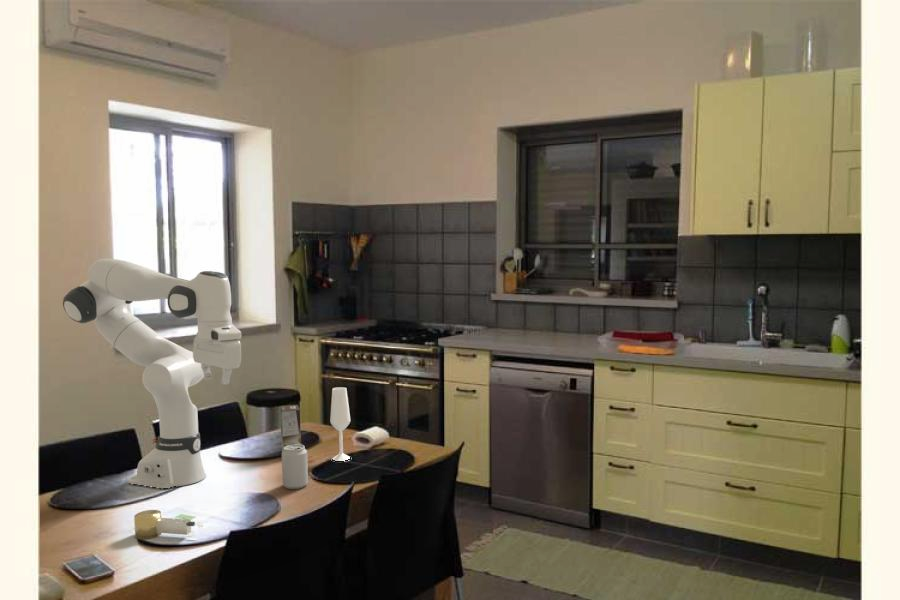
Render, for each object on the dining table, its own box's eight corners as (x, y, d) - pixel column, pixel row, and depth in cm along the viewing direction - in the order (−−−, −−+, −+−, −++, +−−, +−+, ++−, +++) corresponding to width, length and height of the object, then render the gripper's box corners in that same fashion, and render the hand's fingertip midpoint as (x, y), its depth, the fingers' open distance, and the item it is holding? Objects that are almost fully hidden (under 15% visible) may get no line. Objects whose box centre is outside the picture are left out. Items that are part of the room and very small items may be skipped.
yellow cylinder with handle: (129, 538, 167) (128, 518, 166) (145, 528, 173) (144, 509, 172) (187, 542, 164) (186, 522, 163) (201, 532, 170) (200, 512, 169)
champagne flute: (337, 455, 238) (335, 386, 237) (355, 457, 236) (353, 387, 234) (327, 460, 232) (325, 390, 230) (345, 462, 230) (343, 391, 228)
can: (302, 490, 203) (300, 450, 202) (278, 489, 204) (276, 449, 204) (312, 482, 210) (310, 443, 209) (289, 481, 212) (287, 442, 211)
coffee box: (301, 455, 238) (300, 409, 237) (282, 457, 237) (281, 411, 235) (299, 448, 247) (298, 404, 246) (281, 450, 245) (279, 405, 244)
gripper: (186, 329, 192) (187, 379, 193) (222, 335, 178) (224, 388, 179) (207, 327, 197) (209, 376, 198) (244, 332, 183) (246, 384, 184)
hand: (216, 381), depth 188 cm, fingers open, 8 cm apart
